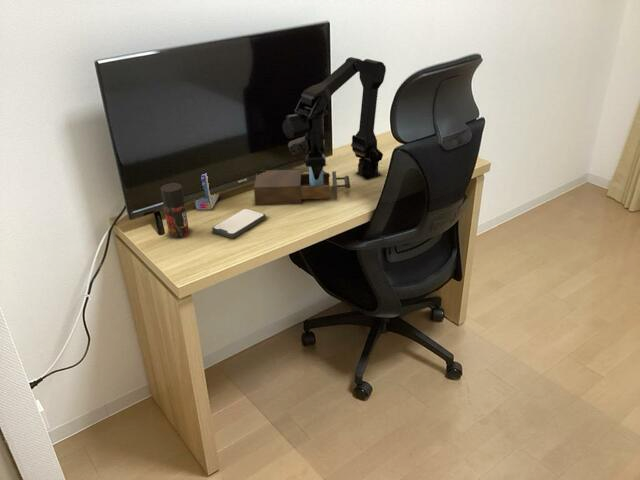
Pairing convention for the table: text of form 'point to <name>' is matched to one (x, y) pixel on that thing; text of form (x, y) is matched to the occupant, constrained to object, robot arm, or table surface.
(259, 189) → the cabinet
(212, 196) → the ink cartridge box
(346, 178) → the drawer
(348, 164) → the table surface
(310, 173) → the glue bottle
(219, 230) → the phone case
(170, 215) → the deodorant
